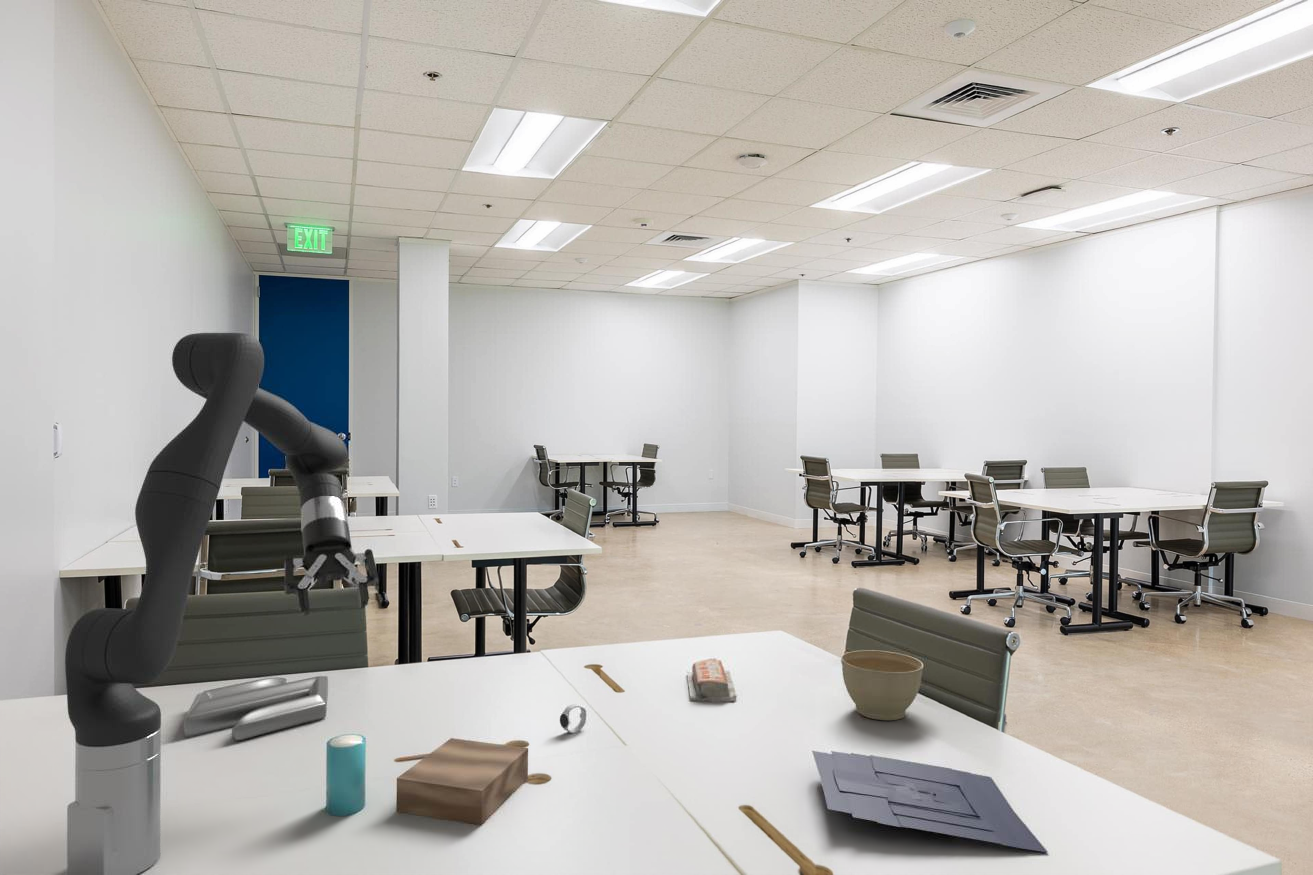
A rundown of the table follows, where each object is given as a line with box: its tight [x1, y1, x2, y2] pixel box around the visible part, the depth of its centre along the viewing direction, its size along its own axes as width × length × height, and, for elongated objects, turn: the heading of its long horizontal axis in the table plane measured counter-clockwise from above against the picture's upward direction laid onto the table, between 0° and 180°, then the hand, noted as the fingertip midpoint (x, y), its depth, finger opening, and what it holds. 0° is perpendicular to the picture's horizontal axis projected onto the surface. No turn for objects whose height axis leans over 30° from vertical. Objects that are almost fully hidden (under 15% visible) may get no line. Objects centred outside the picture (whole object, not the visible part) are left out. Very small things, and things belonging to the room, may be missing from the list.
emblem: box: [183, 675, 329, 741], centre depth 158 cm, size 28×5×28 cm
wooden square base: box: [395, 737, 529, 826], centre depth 126 cm, size 16×14×5 cm
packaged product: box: [686, 658, 738, 702], centre depth 179 cm, size 18×5×10 cm
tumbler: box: [325, 733, 367, 817], centre depth 121 cm, size 6×6×10 cm
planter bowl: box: [840, 649, 924, 721], centre depth 164 cm, size 16×16×11 cm
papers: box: [811, 750, 1048, 853], centre depth 124 cm, size 24×30×4 cm
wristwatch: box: [559, 703, 587, 734], centre depth 152 cm, size 3×5×5 cm, turn 135°
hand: (335, 609), depth 130 cm, fingers open, 8 cm apart
